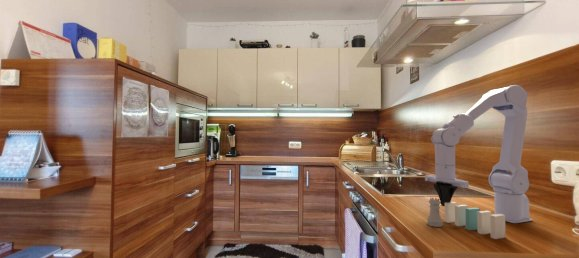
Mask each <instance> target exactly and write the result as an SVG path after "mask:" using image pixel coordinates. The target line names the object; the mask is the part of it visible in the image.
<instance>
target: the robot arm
mask: <svg viewBox="0 0 579 258" xmlns="http://www.w3.org/2000/svg"><path fill="white" fill-rule="evenodd" d="M527 101H528V92H527V91H526V90H525V89H524V88H523V87H522V86H520V85H517V84H513V85H509V86H506V87H501V88H495V89H490V90H488V91H487V92H486V93H484V94H482V97H481V98H479V100H478V101H477V102H476V103H475V104H474V105H472V106H471V107H470V108H469V109H468V110H467V111H466V112H465V113H462V112H461V113H456V114H454V115H453V116H452V119H451V120H450V121H448V122H447V123H443V124H442V128H438V129H435V130H434V131H433V133H432V136H430V140H431V142H432V143H433V145H434V146H433V147H434V154H435V155H434V169H435V170H434V171H435V173H434V175H431V174H425V175H424V181H425V182H433V188H434V189H435V191H436V193H437V196H438V199H439V201H440V206H442V207H444V208H445V203H448V202H452V199H453V197H454V194H455V192H456V191H457V189H458V187H459V188H462V189H468V188H469V185H470V184H469V180H463V179H459V178H456V145H457V144H459V142H460V139H461V137H462V136H463V135H464V134H466V132H467V131H469V130H470V129H471V128H472V127H474V124H475V123H474V122H475V120H476V119H478V118H479V117H481V116H482V115H483V114H485V113H486V112H488V111H489V110H490V109H491V108H492V109H493V110H494V111H496V112H498V113H500V114H502V115H503V117H504V126H503V132H502V139H501V140H502V141H501V148H500V155H499V162H497V163H496V164H494V165H493V166H492V170H491V172H490V174H489V175H488V183H489V185H490V186H491V187H492V190H493V191H494V213H491V215H496V214H503V215H505V222H508V223H512V224H519V223H524V222H525V223H526V222H531V221H533V218H530V200H529V198H528V195H526V194H525V193H526V192H527V191H528V190H529V187H530V181H529V177H528V176H529V175H528V174H529V171H528V170H527V169H526V168H525V167H524V166H522V164H521V162H522V157H523V156H522V155H523V150H524V149H523V148H524V141H525V134H526V127H527V125H526V124H527V119H528V118H527V117H528V109H527Z"/></svg>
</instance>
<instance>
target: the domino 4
mask: <svg viewBox="0 0 579 258" xmlns="http://www.w3.org/2000/svg"><path fill="white" fill-rule="evenodd" d="M491 214H492V211H490V210H480V211H479V212H477V224H478V229H477V234H479V235H488V234H491V227H490V215H491Z"/></svg>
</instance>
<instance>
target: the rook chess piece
mask: <svg viewBox="0 0 579 258" xmlns="http://www.w3.org/2000/svg"><path fill="white" fill-rule="evenodd" d="M428 203H429V214H428V217H427V218H426V220H427V221H426V224H427V225H428V226H430V227H434V228H442V227H443V226H444V223H443V219H442V217H441V214H440V208H441V207H440V205H441V202H440V199H439V198H437V197H436V198H434V197H430V198H429V200H428Z"/></svg>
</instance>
